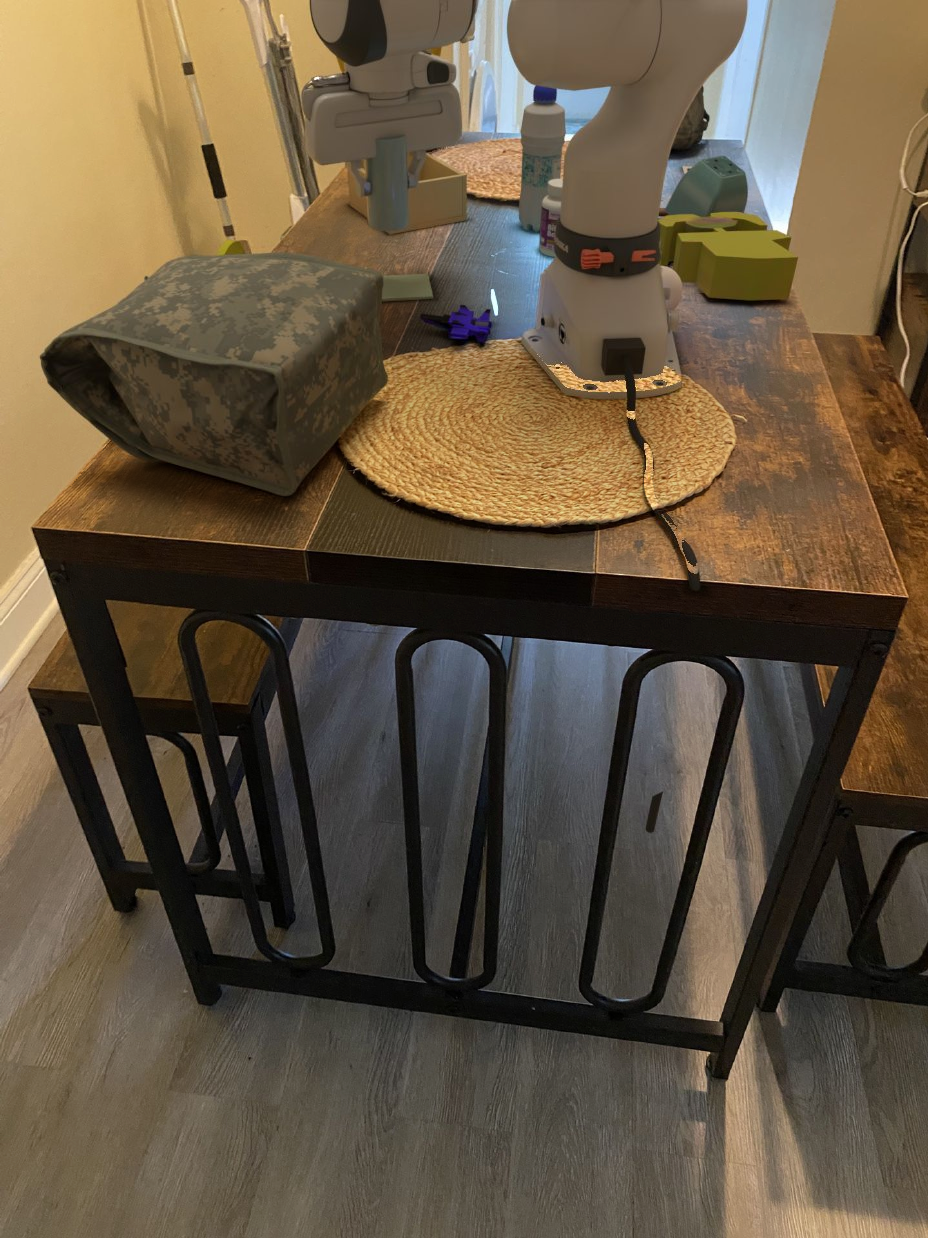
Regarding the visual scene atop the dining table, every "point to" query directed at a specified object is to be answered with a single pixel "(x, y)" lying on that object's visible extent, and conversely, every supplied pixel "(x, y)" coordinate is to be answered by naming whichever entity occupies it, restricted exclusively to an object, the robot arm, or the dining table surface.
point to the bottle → (540, 152)
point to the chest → (426, 195)
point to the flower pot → (710, 189)
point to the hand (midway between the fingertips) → (387, 190)
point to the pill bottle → (550, 216)
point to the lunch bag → (229, 364)
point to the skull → (692, 124)
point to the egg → (672, 287)
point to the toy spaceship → (462, 324)
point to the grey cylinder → (388, 185)
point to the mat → (406, 287)
